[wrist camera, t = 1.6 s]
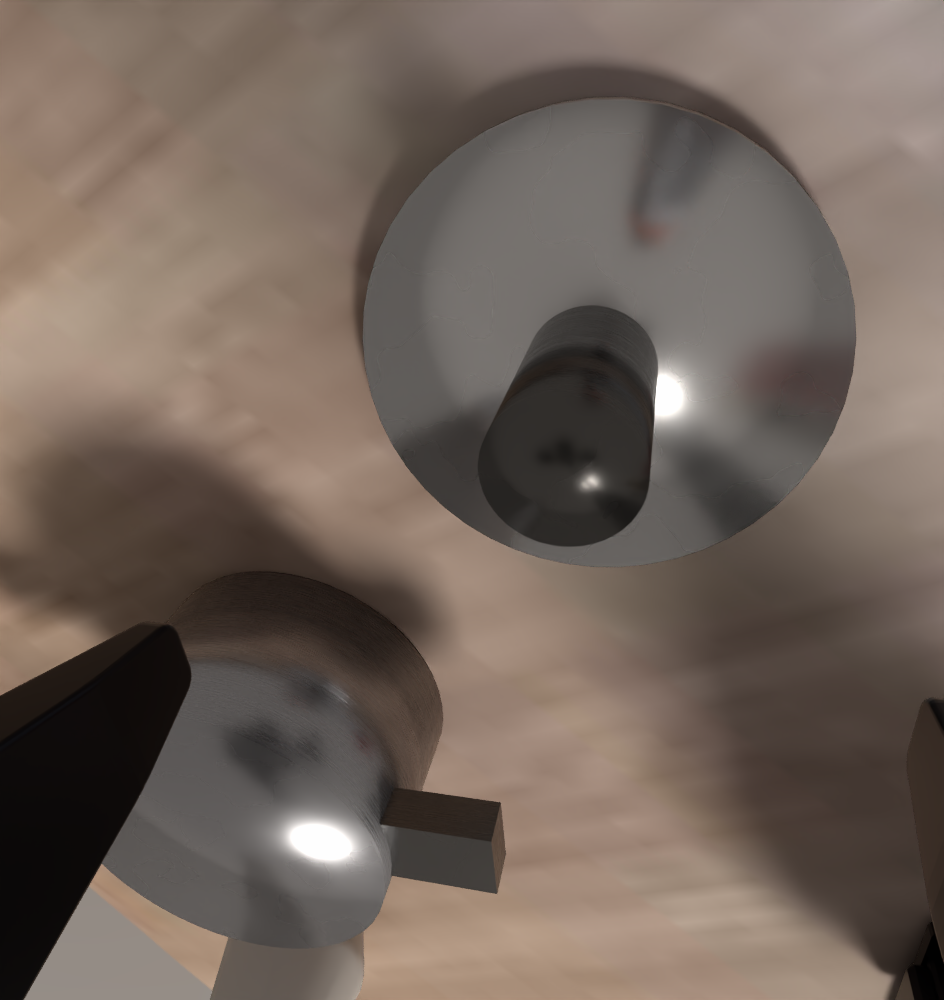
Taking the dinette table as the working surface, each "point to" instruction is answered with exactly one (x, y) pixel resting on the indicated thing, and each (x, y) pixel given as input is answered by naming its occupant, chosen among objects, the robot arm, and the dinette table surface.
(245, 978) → the salt shaker
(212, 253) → the dinette table surface
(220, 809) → the cooker pot
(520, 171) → the cooker lid
